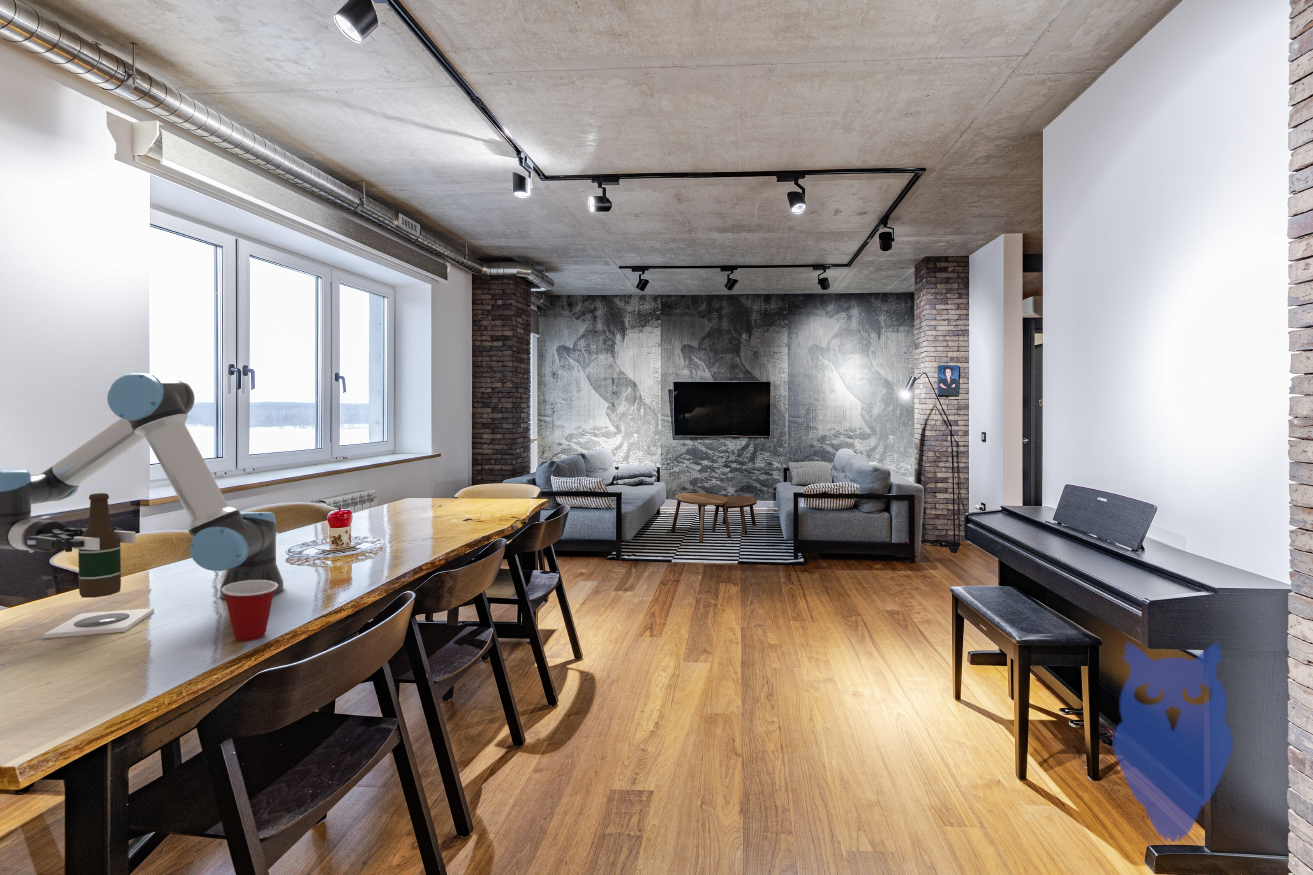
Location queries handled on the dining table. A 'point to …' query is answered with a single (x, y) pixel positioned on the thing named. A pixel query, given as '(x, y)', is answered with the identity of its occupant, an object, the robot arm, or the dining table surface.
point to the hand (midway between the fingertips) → (116, 540)
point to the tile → (99, 623)
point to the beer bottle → (100, 553)
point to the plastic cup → (249, 607)
